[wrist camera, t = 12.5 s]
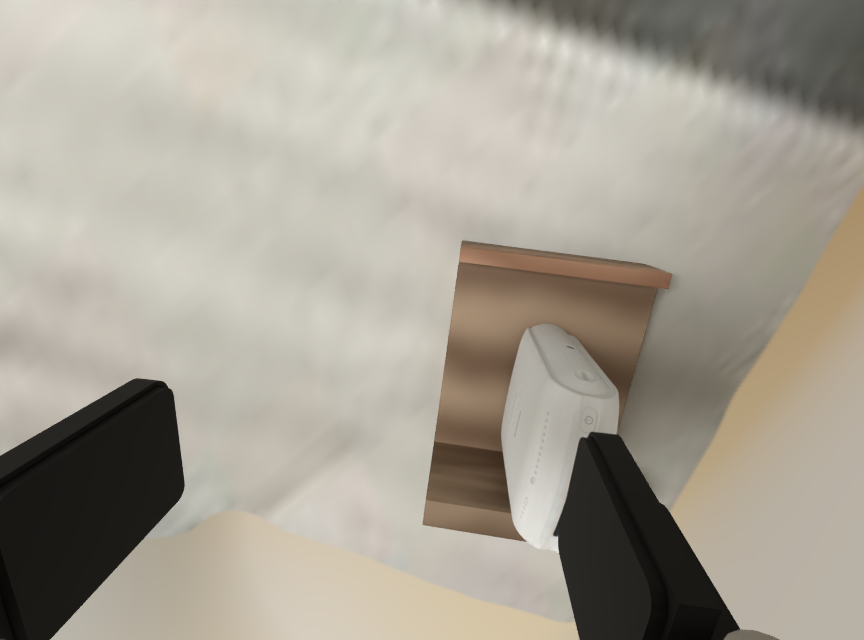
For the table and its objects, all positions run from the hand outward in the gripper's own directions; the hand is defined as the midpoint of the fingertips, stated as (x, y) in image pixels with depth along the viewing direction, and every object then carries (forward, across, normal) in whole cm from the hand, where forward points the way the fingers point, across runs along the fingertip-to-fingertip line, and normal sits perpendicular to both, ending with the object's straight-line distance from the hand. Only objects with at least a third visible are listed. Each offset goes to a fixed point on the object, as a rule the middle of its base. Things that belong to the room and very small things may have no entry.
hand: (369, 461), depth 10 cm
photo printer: (+22, -8, +8) cm, 25 cm away
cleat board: (+25, -8, +6) cm, 27 cm away
